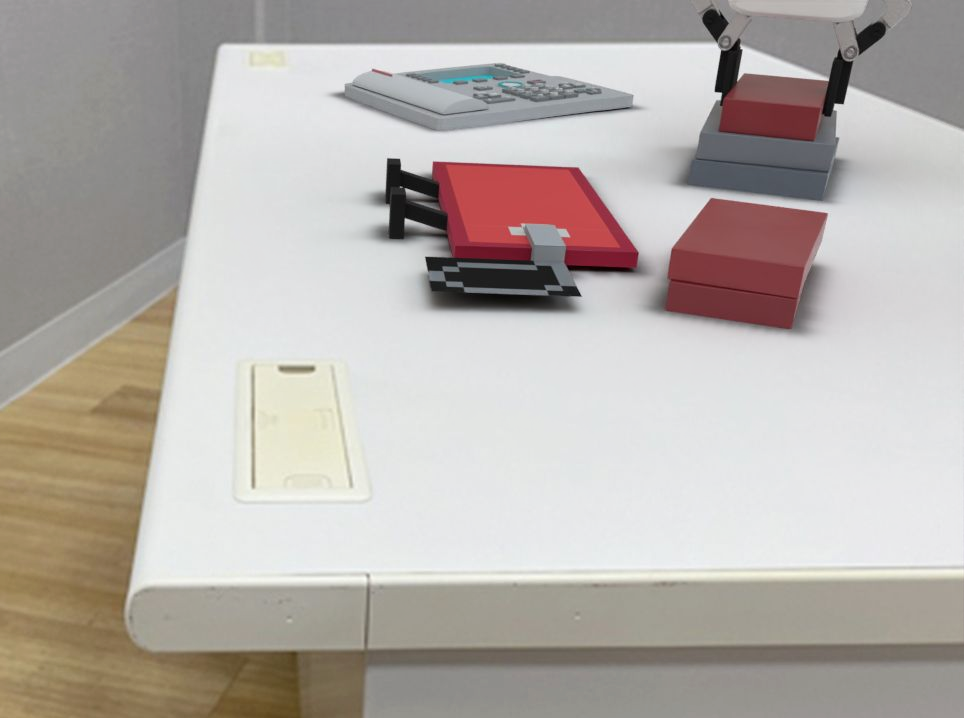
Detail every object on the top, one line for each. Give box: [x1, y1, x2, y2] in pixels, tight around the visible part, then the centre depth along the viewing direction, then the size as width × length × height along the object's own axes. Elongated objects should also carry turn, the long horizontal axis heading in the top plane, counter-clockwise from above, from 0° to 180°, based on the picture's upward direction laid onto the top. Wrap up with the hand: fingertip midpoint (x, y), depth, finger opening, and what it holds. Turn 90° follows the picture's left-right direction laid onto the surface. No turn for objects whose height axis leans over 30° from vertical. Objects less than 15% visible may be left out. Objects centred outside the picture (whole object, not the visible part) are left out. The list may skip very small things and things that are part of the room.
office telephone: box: [344, 62, 634, 131], centre depth 118 cm, size 23×3×20 cm
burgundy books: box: [664, 197, 829, 330], centre depth 71 cm, size 12×8×4 cm, turn 159°
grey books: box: [687, 99, 840, 202], centre depth 96 cm, size 14×10×4 cm
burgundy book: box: [718, 72, 829, 141], centre depth 94 cm, size 12×7×2 cm, turn 159°
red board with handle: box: [384, 157, 640, 298], centre depth 80 cm, size 30×3×15 cm
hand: (776, 106), depth 94 cm, fingers closed on burgundy book, 7 cm apart
